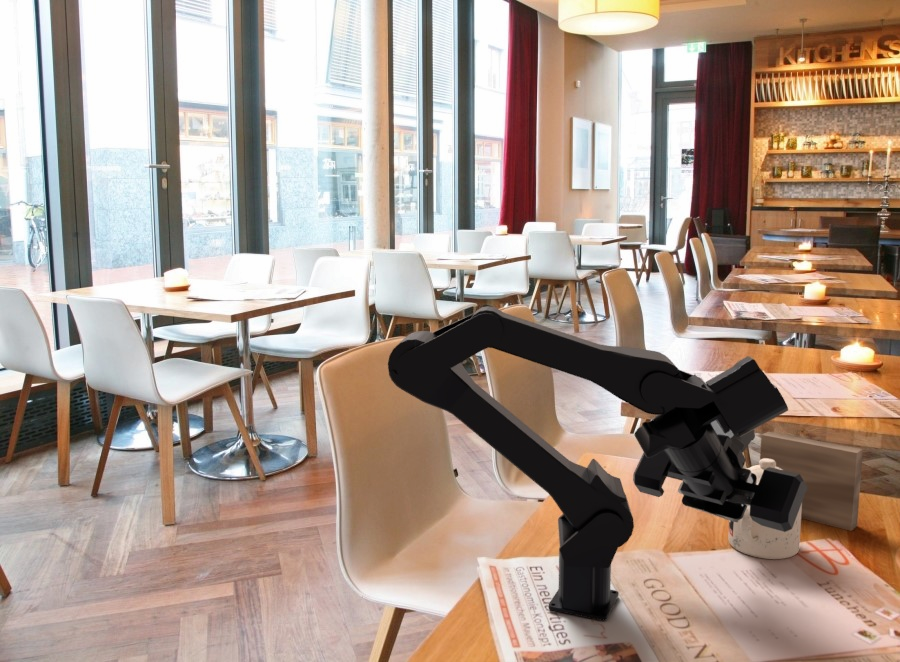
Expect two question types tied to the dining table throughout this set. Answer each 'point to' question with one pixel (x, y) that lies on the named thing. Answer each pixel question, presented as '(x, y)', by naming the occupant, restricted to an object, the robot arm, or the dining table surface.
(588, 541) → the robot arm
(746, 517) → the teacup with lid
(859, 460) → the bookend
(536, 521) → the dining table surface
